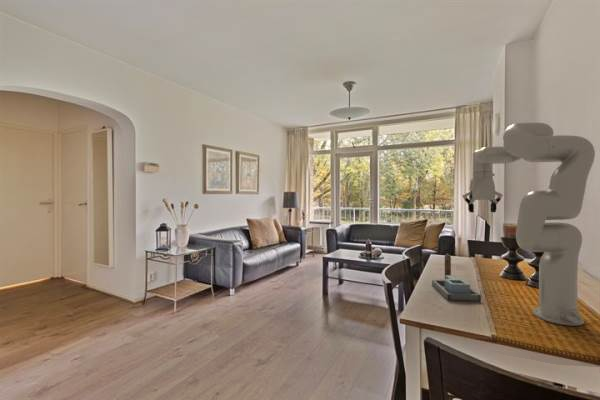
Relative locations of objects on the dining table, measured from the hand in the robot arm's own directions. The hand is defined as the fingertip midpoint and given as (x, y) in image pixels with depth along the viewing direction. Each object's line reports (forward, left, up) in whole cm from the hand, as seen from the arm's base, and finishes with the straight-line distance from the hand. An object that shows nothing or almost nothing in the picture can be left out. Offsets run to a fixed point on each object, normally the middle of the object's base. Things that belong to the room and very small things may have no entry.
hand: (482, 212), depth 138 cm
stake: (-4, +17, -32) cm, 37 cm away
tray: (-20, +20, -32) cm, 43 cm away
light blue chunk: (-20, +20, -32) cm, 43 cm away
